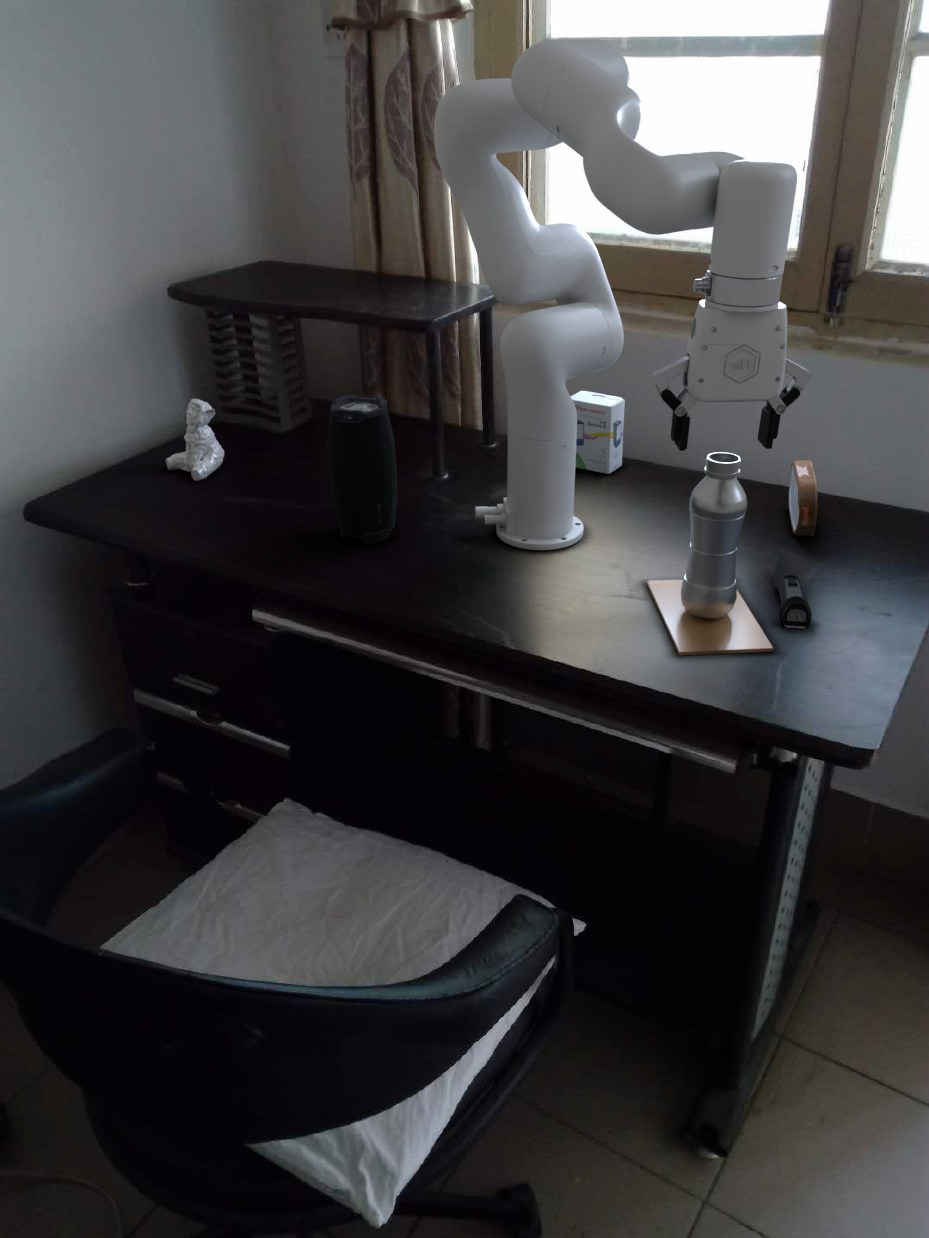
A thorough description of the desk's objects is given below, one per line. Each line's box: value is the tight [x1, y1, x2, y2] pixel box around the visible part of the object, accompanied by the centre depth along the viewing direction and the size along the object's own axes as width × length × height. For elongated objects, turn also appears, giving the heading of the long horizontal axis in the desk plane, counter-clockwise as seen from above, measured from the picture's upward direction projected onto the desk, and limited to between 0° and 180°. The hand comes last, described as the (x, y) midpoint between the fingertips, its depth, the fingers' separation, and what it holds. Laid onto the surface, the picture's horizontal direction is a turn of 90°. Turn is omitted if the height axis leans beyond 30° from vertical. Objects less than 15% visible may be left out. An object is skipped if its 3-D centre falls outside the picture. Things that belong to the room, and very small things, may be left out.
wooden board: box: [646, 578, 774, 656], centre depth 124 cm, size 11×18×1 cm, turn 3°
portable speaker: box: [327, 394, 398, 545], centre depth 142 cm, size 9×9×20 cm
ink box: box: [570, 390, 626, 475], centre depth 166 cm, size 9×5×12 cm, turn 55°
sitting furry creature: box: [165, 398, 225, 482], centre depth 168 cm, size 10×9×12 cm
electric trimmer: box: [773, 551, 813, 629], centre depth 127 cm, size 4×16×3 cm, turn 170°
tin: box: [788, 459, 818, 537], centre depth 146 cm, size 15×3×8 cm, turn 168°
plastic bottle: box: [681, 451, 748, 618], centre depth 119 cm, size 6×7×20 cm
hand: (722, 445), depth 114 cm, fingers open, 9 cm apart
